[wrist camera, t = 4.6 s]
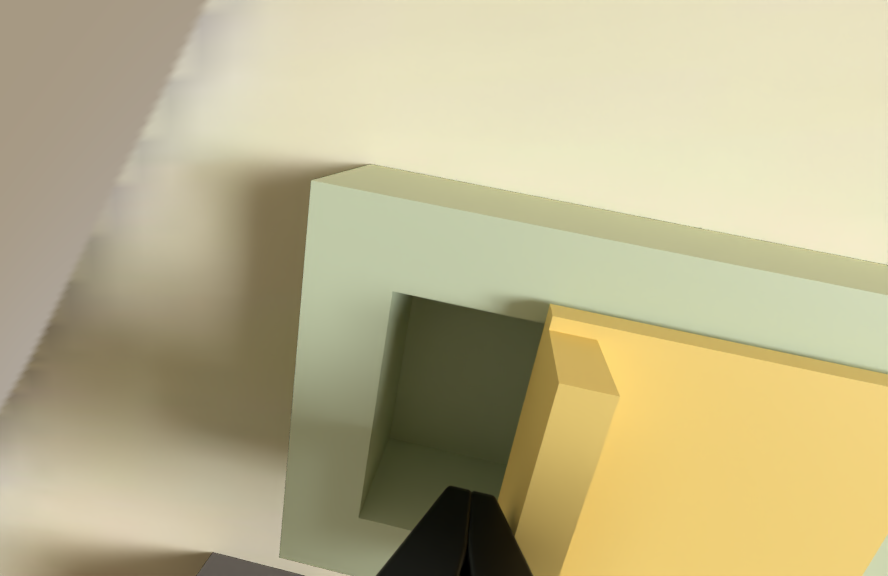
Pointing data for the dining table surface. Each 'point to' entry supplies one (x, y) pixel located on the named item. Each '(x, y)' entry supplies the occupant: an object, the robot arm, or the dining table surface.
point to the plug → (238, 568)
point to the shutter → (693, 456)
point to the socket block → (502, 335)
